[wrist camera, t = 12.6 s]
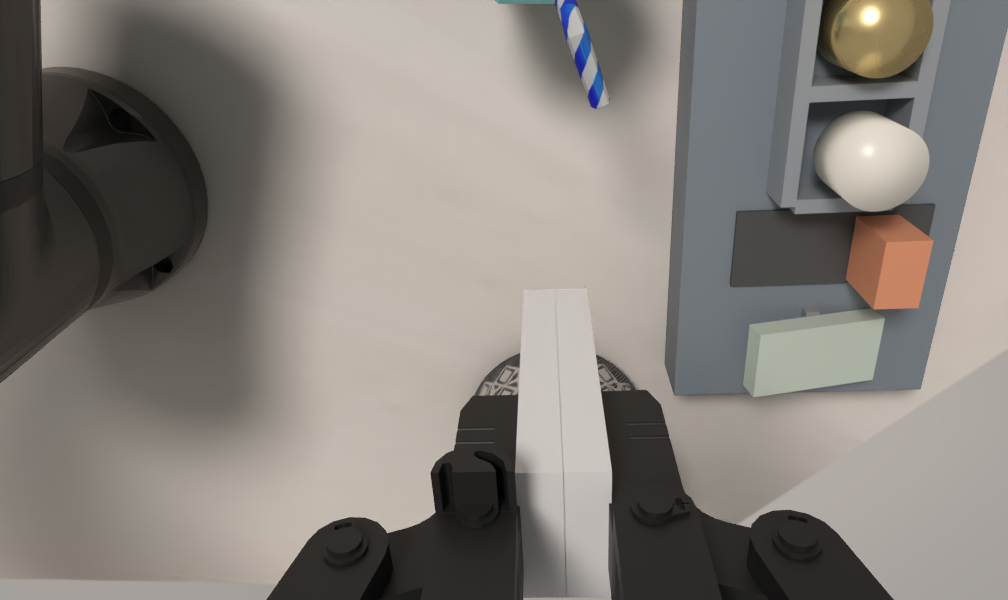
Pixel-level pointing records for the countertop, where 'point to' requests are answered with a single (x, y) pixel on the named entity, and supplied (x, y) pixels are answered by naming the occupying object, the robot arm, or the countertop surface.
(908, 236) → the slider knob
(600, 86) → the cup
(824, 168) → the button ivory
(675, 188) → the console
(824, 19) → the button brass
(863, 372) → the block
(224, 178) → the countertop surface
